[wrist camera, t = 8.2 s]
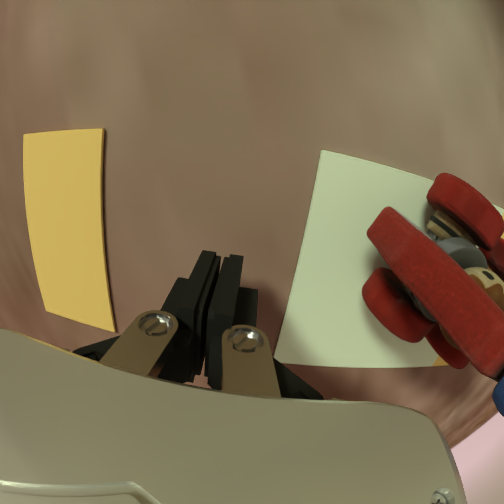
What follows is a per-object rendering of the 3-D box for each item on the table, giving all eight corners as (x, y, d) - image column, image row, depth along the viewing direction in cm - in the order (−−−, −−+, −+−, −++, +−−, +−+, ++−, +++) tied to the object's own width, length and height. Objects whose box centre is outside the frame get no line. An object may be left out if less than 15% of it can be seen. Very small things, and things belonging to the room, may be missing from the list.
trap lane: (25, 134, 11) (23, 134, 11) (546, 231, 12) (548, 232, 11) (47, 309, 16) (46, 310, 16) (484, 359, 17) (485, 361, 16)
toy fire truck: (400, 140, 11) (616, 210, 1) (511, 263, 13) (604, 357, 3) (318, 262, 13) (382, 484, 4) (452, 341, 15) (514, 457, 6)
